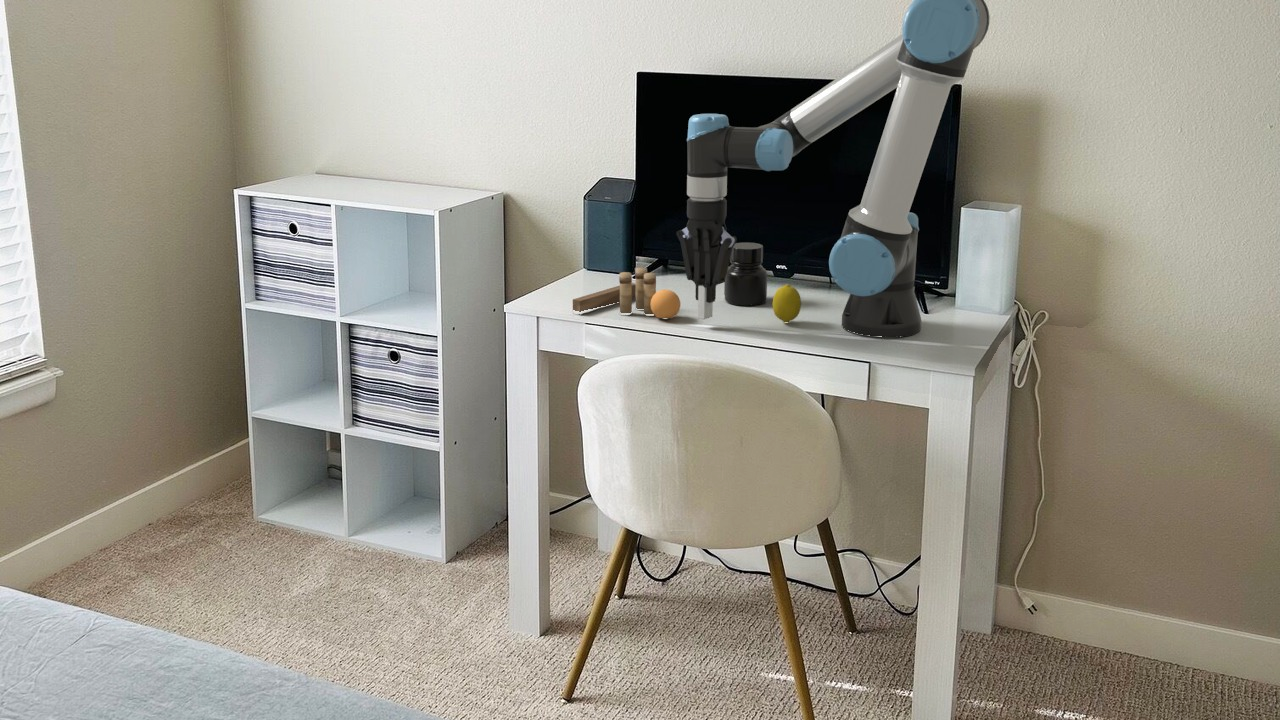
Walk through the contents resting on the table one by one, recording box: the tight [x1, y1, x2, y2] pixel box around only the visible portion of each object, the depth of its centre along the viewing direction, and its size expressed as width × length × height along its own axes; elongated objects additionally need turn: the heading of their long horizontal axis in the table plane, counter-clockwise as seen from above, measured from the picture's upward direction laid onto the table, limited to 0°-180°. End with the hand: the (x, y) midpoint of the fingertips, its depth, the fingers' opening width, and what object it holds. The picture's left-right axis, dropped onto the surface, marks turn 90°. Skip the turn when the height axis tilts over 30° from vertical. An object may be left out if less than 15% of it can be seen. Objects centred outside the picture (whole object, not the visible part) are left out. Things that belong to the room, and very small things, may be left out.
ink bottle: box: [723, 242, 768, 307], centre depth 245 cm, size 10×9×12 cm
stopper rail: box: [572, 282, 636, 312], centre depth 244 cm, size 2×18×3 cm, turn 141°
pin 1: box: [618, 271, 633, 313], centre depth 237 cm, size 2×2×8 cm
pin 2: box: [634, 267, 648, 309], centre depth 240 cm, size 2×2×8 cm
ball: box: [650, 288, 681, 319], centre depth 233 cm, size 6×6×6 cm
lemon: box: [772, 283, 802, 323], centre depth 230 cm, size 6×6×8 cm
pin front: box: [643, 272, 657, 314], centre depth 236 cm, size 2×2×8 cm
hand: (705, 317), depth 228 cm, fingers closed
